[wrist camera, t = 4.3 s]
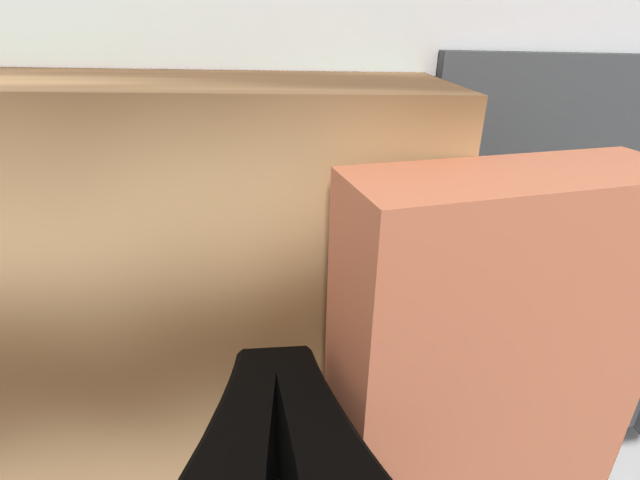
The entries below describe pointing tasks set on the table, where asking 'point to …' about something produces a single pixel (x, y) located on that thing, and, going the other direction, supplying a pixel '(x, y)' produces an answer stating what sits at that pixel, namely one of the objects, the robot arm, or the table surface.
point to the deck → (175, 242)
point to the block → (487, 312)
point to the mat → (551, 102)
